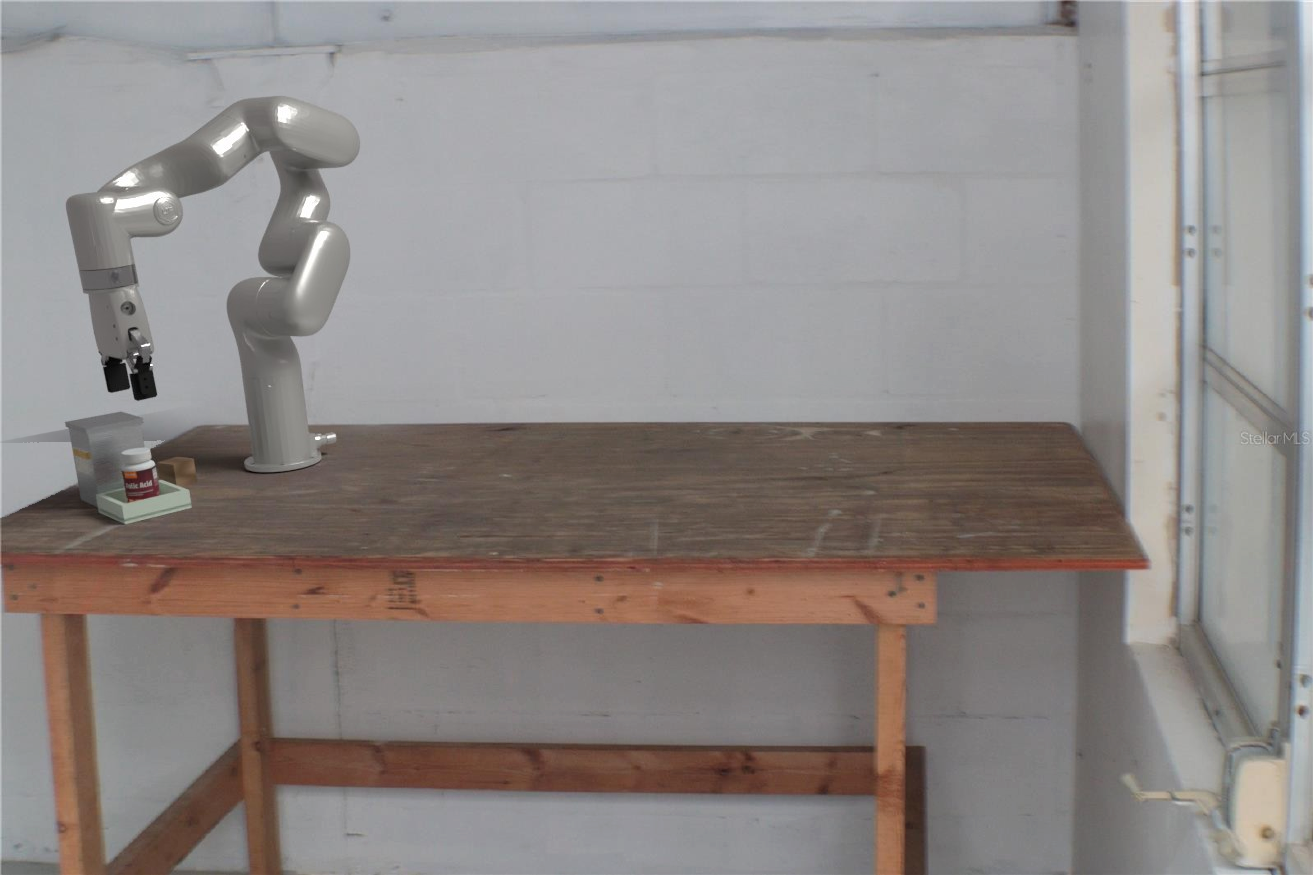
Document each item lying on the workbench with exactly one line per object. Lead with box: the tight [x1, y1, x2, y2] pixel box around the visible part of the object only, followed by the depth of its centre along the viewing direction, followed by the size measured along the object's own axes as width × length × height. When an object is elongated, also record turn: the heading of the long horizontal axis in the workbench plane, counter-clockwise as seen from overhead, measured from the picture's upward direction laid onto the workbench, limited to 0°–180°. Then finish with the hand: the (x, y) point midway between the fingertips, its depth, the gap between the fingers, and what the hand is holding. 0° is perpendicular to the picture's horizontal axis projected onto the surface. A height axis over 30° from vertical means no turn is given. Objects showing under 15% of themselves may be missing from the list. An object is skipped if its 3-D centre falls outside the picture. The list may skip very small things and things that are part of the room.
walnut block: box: [156, 456, 198, 488], centre depth 197 cm, size 4×4×4 cm
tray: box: [96, 479, 193, 525], centre depth 183 cm, size 10×10×3 cm
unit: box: [64, 411, 146, 508], centre depth 189 cm, size 9×9×13 cm
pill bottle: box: [121, 447, 160, 503], centre depth 182 cm, size 5×5×8 cm
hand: (132, 394), depth 180 cm, fingers open, 9 cm apart
